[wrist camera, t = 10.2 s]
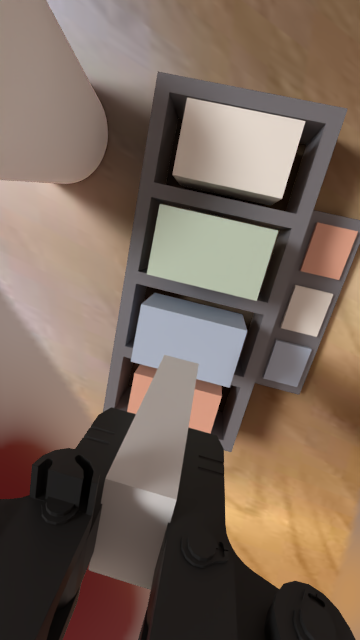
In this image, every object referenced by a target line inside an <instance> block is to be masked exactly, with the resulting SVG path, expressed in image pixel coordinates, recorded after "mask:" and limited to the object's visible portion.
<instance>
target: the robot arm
mask: <svg viewBox="0 0 360 640" xmlns="http://www.w3.org/2000/svg"><path fill="white" fill-rule="evenodd" d="M198 366H199V364H198V363H194V362H190V361H186V360H182V359H178V358H175V357H171V356H167V355H164V357H163V359H162V361H161V363H160V365H159V367H158V369H157V371H156V373H155V376H154V378H153V380H152V382H151V384H150V386H149V388H148V390H147V392H146V394H145V396H144V399H143V401H142V403H141V405H140V407H139V409H138V411H137V413H136V414H134V413H130V412H126V411H123V410H119V409H116V408H112V407H111V408H109V409H108V410H106V411H104V412H103V413H101V414H99V415H98V417H97V418H96V420H95V421H94V422H93V424H92V426H91V428H89V430H88V431H87V433H86V434H85V436H84V438H82V440H81V441H80V443H79V444H78V446H77V447H76V449H70V448H67V449H60V450H55V451H52V452H50V453H48V454H45V455H43V456H42V457H41V458H39V459H38V460H37V461H36V462H35V463H34V464H32V473H31V485H30V495H29V496H26V497H23V498H15V499H0V640H63V637H64V635H65V632H66V629H67V627H68V624H69V622H70V619H71V617H72V614H73V611H74V608H75V606H76V604H77V600H78V596H79V591H80V586H81V582H82V580H83V577H84V575H85V572H86V570H87V567H88V565H89V562H90V565H89V570H90V571H93V572H96V573H99V574H103V575H106V576H109V577H112V578H115V579H118V580H121V581H125V582H128V583H131V584H134V585H137V586H140V587H144V588H147V589H150V590H151V592H150V597H149V602H148V607H147V611H146V614H145V618H144V621H143V625H142V628H141V632H140V635H139V639H138V640H355V638H354V636H353V634H352V632H351V630H350V628H349V626H348V625H347V623H346V622H345V620H344V618H343V617H342V615H341V613H340V612H339V610H338V609H337V608H336V607H335V606H334V605H333V603H332V602H331V601H330V600H329V599H328V598H327V597H326V596H325V595H324V594H323V593H321V592H320V591H318V590H317V589H315V588H314V587H312V586H310V585H309V584H305V583H301V582H298V581H293V582H289V583H285V584H283V586H282V587H281V588H280V589H278V588H276V587H275V586H274V585H272V584H271V583H269V582H268V581H266V580H265V579H263V578H262V577H260V576H259V575H258V574H256V573H255V572H253V571H252V570H251V569H250V568H249V567H247V566H246V565H245V564H244V563H243V562H242V561H241V560H240V558H239V557H238V556H237V555H236V553H235V552H234V550H233V548H232V546H231V544H230V542H229V539H228V537H227V533H226V526H225V489H224V465H223V464H224V448H223V446H222V444H221V442H220V441H219V439H218V437H217V435H214V434H210V433H206V432H203V431H199V430H196V429H192V428H188V427H189V421H190V415H191V409H192V403H193V396H194V390H195V384H196V378H197V372H198Z"/></svg>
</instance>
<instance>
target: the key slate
mask: <svg viewBox="0 0 360 640" xmlns="http://www.w3.org/2000/svg"><path fill="white" fill-rule="evenodd" d="M246 334H247V328H246V325H245V321H244V318H243V315H242V314H239V313H235V312H231V311H227V310H223V309H219V308H215V307H211V306H207V305H203V304H199V303H195V302H191V301H187V300H183V299H179V298H175V297H170V296H166V295H162V294H158V293H154V294H153V295H151V296H150V297H149V298H148V299H147V300H146V301H144V302H143V303H142V304H141V308H140V314H139V319H138V324H137V330H136V335H135V341H134V346H133V352H132V357H131V362H134V363H138V364H142V365H145V366H149V367H153V368H157V369H158V367H159V365H160V363H161V361H162V359H163V357H164V355H167V356H171V357H175V358H178V359H182V360H186V361H190V362H194V363H198V364H199V366H198V372H197V378H196V379H198V380H202V381H206V382H210V383H213V384H217V385H221V386H225V387H228V388H230V385H231V382H232V379H233V375H234V372H235V369H236V366H237V363H238V359H239V356H240V353H241V350H242V346H243V343H244V340H245V337H246Z"/></svg>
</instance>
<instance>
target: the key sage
mask: <svg viewBox="0 0 360 640" xmlns="http://www.w3.org/2000/svg"><path fill="white" fill-rule="evenodd" d="M277 234H278V230H273V229H269V228H264V227H260V226H255V225H251V224H247V223H242V222H238V221H233V220H229V219H225V218H220V217H216V216H211V215H207V214H202V213H198V212H194V211H189V210H185V209H180V208H176V207H171V206H167V205H163V204H160V205H159V210H158V216H157V221H156V227H155V232H154V238H153V243H152V248H151V254H150V259H149V265H148V270H147V274H148V275H152V276H156V277H160V278H164V279H168V280H173V281H177V282H181V283H185V284H189V285H193V286H197V287H201V288H205V289H209V290H214V291H218V292H222V293H226V294H230V295H234V296H238V297H242V298H246V299H251V300H255V301H257V298H258V295H259V292H260V288H261V285H262V282H263V279H264V276H265V272H266V269H267V266H268V263H269V260H270V256H271V253H272V250H273V247H274V243H275V240H276V237H277Z"/></svg>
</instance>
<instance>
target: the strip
mask: <svg viewBox="0 0 360 640" xmlns="http://www.w3.org/2000/svg"><path fill="white" fill-rule="evenodd" d="M359 244H360V220H356V219H352V218H347V217H342V216H338V215H333V214H329V213H324V212H320V211H315V210H313V212H312V215H311V218H310V221H309V224H308V227H307V230H306V233H305V236H304V239H303V242H302V245H301V248H300V251H299V254H298V257H297V259H296V262H295V265H294V268H293V271H292V274H291V277H290V280H289V283H288V286H287V289H286V292H285V295H284V298H283V301H282V304H281V307H280V310H279V313H278V316H277V318H276V321H275V324H274V327H273V330H272V333H271V336H270V339H269V342H268V345H267V348H266V351H265V354H264V357H263V360H262V363H261V366H260V369H259V372H258V375H257V377H256V380H255V383H257V384H260V385H264V386H268V387H272V388H276V389H279V390H283V391H287V392H291V393H295V394H300V392H301V389H302V387H303V384H304V382H305V379H306V377H307V374H308V372H309V369H310V367H311V364H312V362H313V359H314V357H315V354H316V352H317V349H318V347H319V344H320V342H321V339H322V337H323V334H324V332H325V329H326V327H327V324H328V322H329V319H330V317H331V314H332V312H333V309H334V307H335V304H336V302H337V299H338V297H339V294H340V292H341V289H342V287H343V284H344V282H345V279H346V277H347V274H348V272H349V269H350V267H351V264H352V262H353V259H354V257H355V254H356V252H357V249H358V247H359Z"/></svg>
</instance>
